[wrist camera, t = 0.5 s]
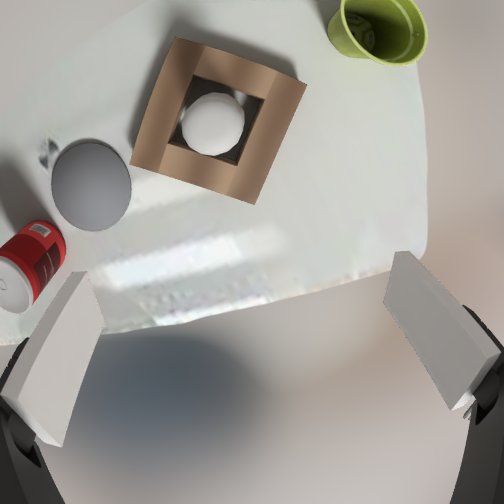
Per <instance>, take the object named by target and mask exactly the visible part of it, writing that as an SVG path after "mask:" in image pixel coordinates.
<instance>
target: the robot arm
mask: <svg viewBox="0 0 504 504" xmlns="http://www.w3.org/2000/svg"><path fill="white" fill-rule="evenodd" d="M383 303H384V305H385V306H386V308H387V309H388V311H389V312H390V314H391V315H392V316H393V318H394V320H395V321H396V323H397V324H398V325H399V327H400V329H401V330H402V332H403V333H404V335H405V336H406V338H407V339H408V341H409V343H410V344H411V346H412V347H413V349H414V350H415V352H416V354H417V355H418V357H419V358H420V360H421V362H422V363H423V364H424V367H425V368H426V370H427V371H428V373H429V375H430V376H431V378H432V380H433V381H434V383H435V385H436V387H437V388H438V390H439V392H440V393H441V395H442V397H443V399H444V401H445V402H446V404H447V406H448V408H449V409H450V411H452V410H454V409H456V408H459V407H461V406H463V405H465V404H466V403H467V401H468V400H469V399H470V397H471V396H472V395H474V397H475V398H476V400H475V401H474V403H473V404H472V405H471V406H470V408H469V409H468V410H467V411H466V413H465V414H464V416H463V418H464V419H465V418H466V417H467V416H468V414H469V413H470V412H471V416H470V418H469V419H468V420H470V425H469V430H468V436H467V441H466V446H465V450H464V455H463V459H462V463H461V467H460V471H459V475H458V478H457V482H456V485H455V489H454V492H453V495H452V498H451V501H450V504H504V347H503V346H502V344H501V343H500V342H499V341H498V339H497V338H496V337H495V336H494V335H493V334H492V332H491V331H490V330H489V329H487V327H486V325H485V324H484V323H483V322H481V319H480V318H479V317H478V316H477V315H476V314H475V313H474V311H472V310H471V309H469V308H468V307H466V306H464V305H461V304H460V303H459V302H458V300H457V299H456V298H455V297H454V296H453V295H452V294H451V293H450V292H449V291H448V290H447V289H446V288H445V287H444V285H443V284H442V283H441V282H440V281H439V280H438V279H437V278H436V277H435V276H434V275H433V274H432V273H431V272H430V271H429V270H428V269H427V268H426V267H425V266H424V265H423V264H422V263H421V262H420V261H419V260H418V259H417V258H416V257H415V256H414V255H413V254H412V253H411V252H410V251H400V252H395V255H394V260H393V264H392V269H391V273H390V277H389V282H388V285H387V289H386V293H385V297H384V301H383ZM104 323H105V321H104V319H103V316H102V313H101V311H100V308H99V305H98V303H97V300H96V297H95V294H94V291H93V288H92V285H91V282H90V279H89V276H88V273H87V271H85V272H72V273H71V275H70V276H69V278H68V279H67V280H66V282H65V283H64V285H63V286H62V288H61V289H60V291H59V292H58V294H57V295H56V297H55V298H54V300H53V301H52V303H51V304H50V306H49V307H48V309H47V310H46V312H45V314H44V315H43V317H42V318H41V320H40V322H39V323H38V325H37V326H36V328H35V330H34V331H33V333H32V335H31V337H30V338H28V337H27V338H26V339H25V340H24V341H23V342H22V343H21V344H20V345H19V346H18V347H17V349H16V351H15V352H14V354H13V356H12V359H10V361H9V363H8V367H6V369H5V370H4V372H3V374H2V376H1V378H0V504H65V502H64V500H63V498H62V497H61V495H60V493H59V491H58V489H57V487H56V485H55V483H54V481H53V479H52V477H51V474H50V472H49V470H48V468H47V466H46V463H45V461H44V459H43V456H42V454H41V452H40V449H39V447H38V445H37V443H36V442H35V441H34V439H35V436H36V435H38V437H40V438H41V439H42V440H43V441H44V442H45V443H48V444H52V445H56V446H59V447H62V445H63V441H64V438H65V434H66V431H67V427H68V424H69V420H70V417H71V414H72V410H73V407H74V404H75V401H76V398H77V395H78V392H79V389H80V386H81V383H82V380H83V377H84V375H85V372H86V369H87V366H88V364H89V361H90V358H91V356H92V353H93V350H94V348H95V345H96V343H97V340H98V338H99V335H100V333H101V330H102V328H103V325H104Z"/></svg>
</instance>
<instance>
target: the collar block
mask: <svg viewBox="0 0 504 504" xmlns="http://www.w3.org/2000/svg"><path fill="white" fill-rule="evenodd" d="M196 77H198V78H201V79H204V80H207V81H210V82H213V83H216V84H219V85H222V86H225V87H228V88H231V89H234V90H237V91H239V92H242V93H245V94H247V95H250V96H253V97H255V98H258V99H260V100H261V102H260V104H259V107H258V109H257V111H256V114H255V116H254V118H253V121H252V123H251V125H250V128H249V130H248V133H247V135H246V137H245V140H244V142H243V145H242V147H241V149H240V152H239V154H238V157H237V159H236V161H234V160H231V159H228V158H225V157H222V156H219V155H215V156H213V155H205V154H200V153H199V152H197V151H195V150H194V149H192V148H190V147H189V145H186V144H183V143H180V142H177V141H174V140H172V139H173V136H174V133H175V130H176V127H177V124H178V122H179V119H180V116H181V114H182V111H183V108H184V106H185V103H186V100H187V98H188V95H189V93H190V90H191V88H192V85H193V83H194V81H195V78H196ZM306 87H307V84H305V83H303V82H301V81H299V80H297V79H294V78H292V77H290V76H288V75H285V74H283V73H281V72H278V71H276V70H273V69H271V68H269V67H266V66H264V65H261V64H258V63H256V62H253V61H251V60H248V59H245V58H242V57H240V56H237V55H234V54H231V53H228V52H225V51H222V50H219V49H216V48H212V47H209V46H206V45H202V44H199V43H195V42H192V41H188V40H184V39H180V38H176V37H175V39H174V41H173V43H172V45H171V48H170V50H169V52H168V54H167V57H166V59H165V62H164V64H163V66H162V69H161V71H160V74H159V76H158V79H157V81H156V84H155V87H154V89H153V92H152V95H151V97H150V100H149V103H148V106H147V109H146V112H145V115H144V118H143V121H142V124H141V127H140V130H139V133H138V136H137V140H136V143H135V146H134V150H133V153H132V157H131V160H130V165H133V166H136V167H140V168H143V169H146V170H149V171H153V172H156V173H159V174H162V175H166V176H169V177H172V178H175V179H178V180H181V181H185V182H188V183H191V184H194V185H197V186H200V187H203V188H206V189H209V190H212V191H215V192H218V193H221V194H224V195H227V196H230V197H233V198H236V199H239V200H241V201H244V202H247V203H250V204H253V205H255V203H256V201H257V198H258V196H259V194H260V191H261V189H262V187H263V184H264V182H265V180H266V177H267V175H268V173H269V170H270V168H271V166H272V164H273V161H274V159H275V157H276V154H277V152H278V150H279V147H280V145H281V143H282V141H283V138H284V136H285V134H286V132H287V129H288V127H289V125H290V122H291V120H292V118H293V116H294V113H295V111H296V109H297V107H298V104H299V102H300V100H301V98H302V95H303V93H304V91H305V89H306Z"/></svg>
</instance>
